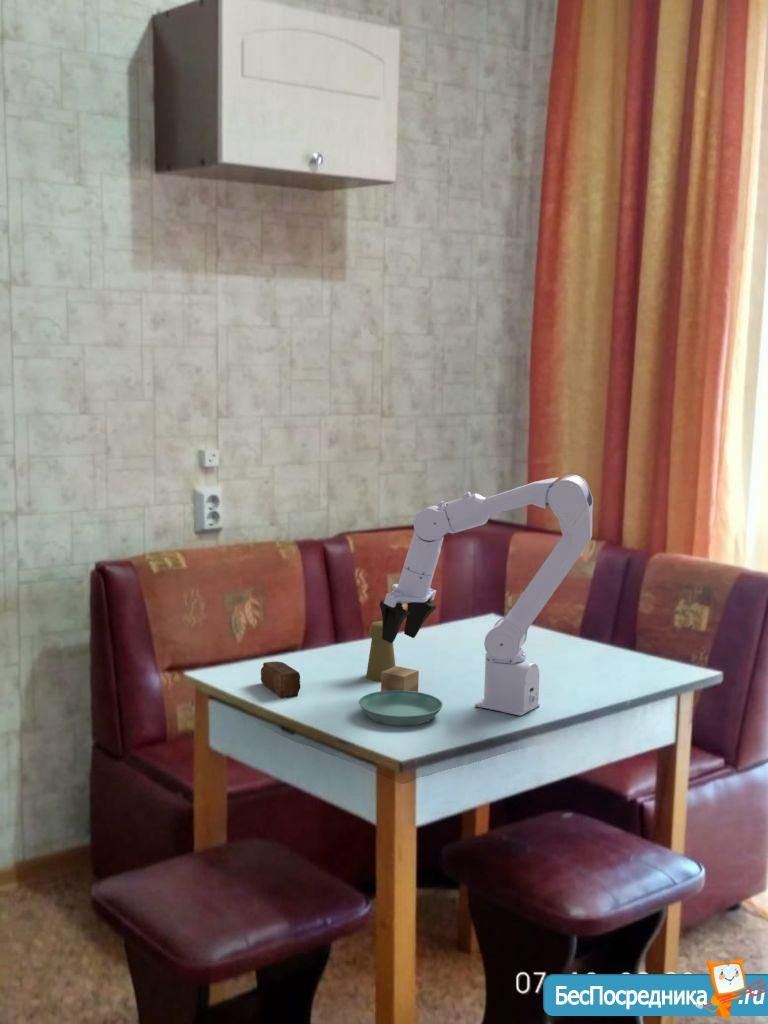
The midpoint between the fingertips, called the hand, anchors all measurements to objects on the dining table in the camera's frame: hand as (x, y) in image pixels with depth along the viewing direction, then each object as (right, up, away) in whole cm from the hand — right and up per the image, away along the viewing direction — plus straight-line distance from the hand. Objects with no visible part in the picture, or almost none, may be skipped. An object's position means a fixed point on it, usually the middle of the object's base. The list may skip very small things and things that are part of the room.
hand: (398, 638), depth 219 cm
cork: (-3, -9, +13) cm, 16 cm away
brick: (-22, -10, +3) cm, 25 cm away
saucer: (0, -13, -10) cm, 17 cm away
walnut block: (0, -11, 0) cm, 11 cm away
